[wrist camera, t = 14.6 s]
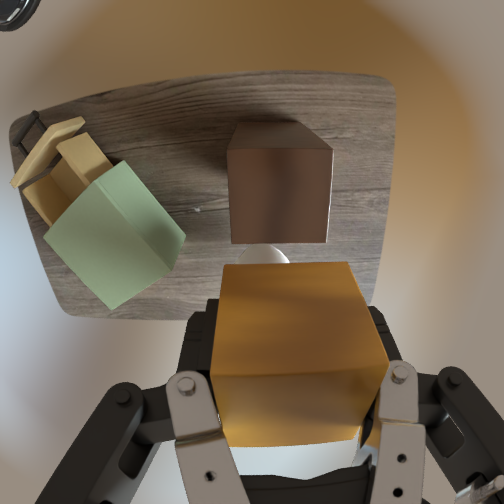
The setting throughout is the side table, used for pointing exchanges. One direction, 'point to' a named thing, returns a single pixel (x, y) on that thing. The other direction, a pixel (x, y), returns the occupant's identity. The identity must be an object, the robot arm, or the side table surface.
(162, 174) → the side table surface
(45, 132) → the drawer
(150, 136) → the side table surface
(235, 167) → the stand
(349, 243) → the side table surface
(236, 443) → the block
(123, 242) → the cabinet
